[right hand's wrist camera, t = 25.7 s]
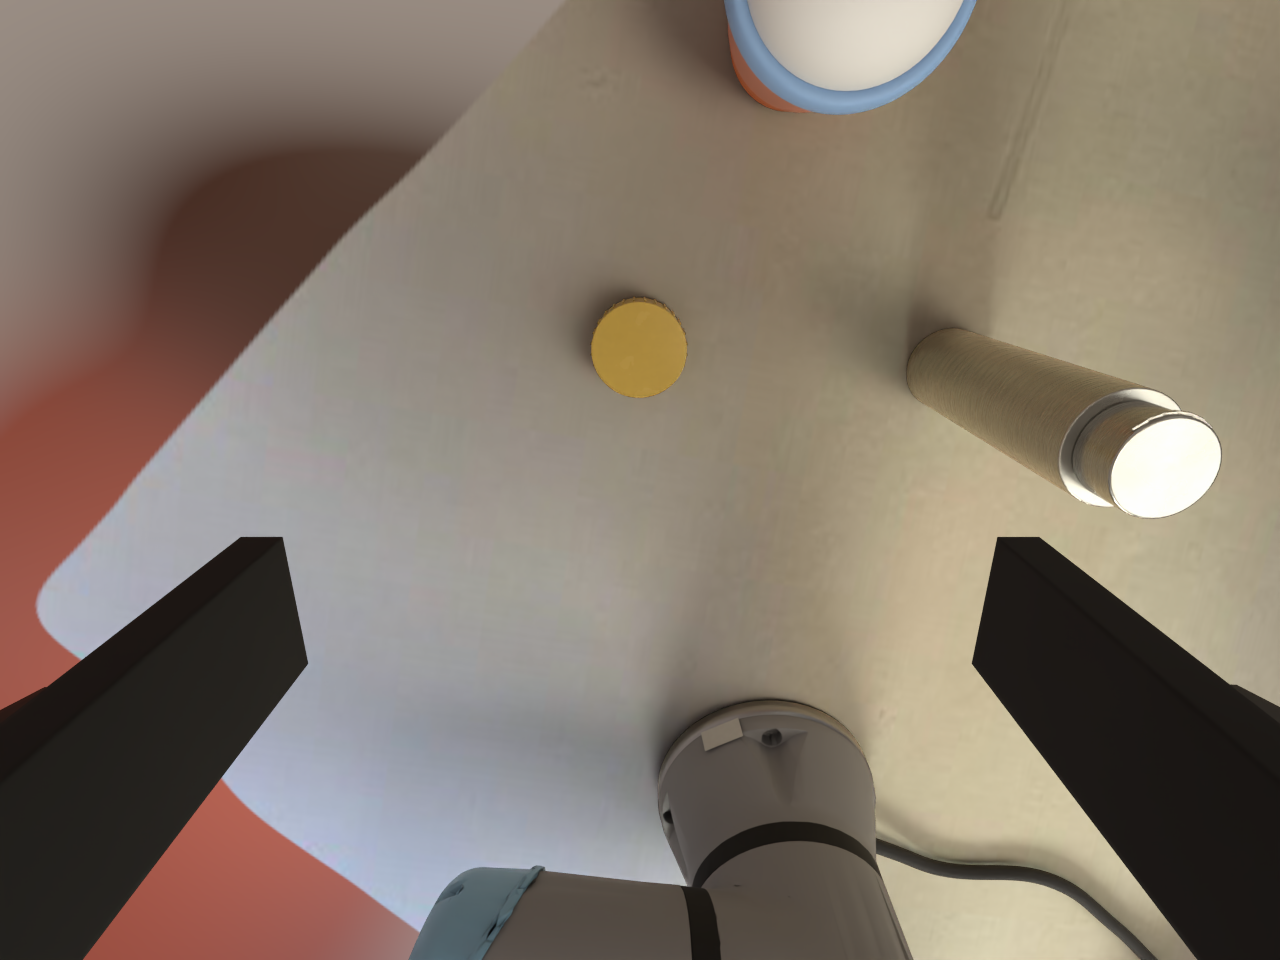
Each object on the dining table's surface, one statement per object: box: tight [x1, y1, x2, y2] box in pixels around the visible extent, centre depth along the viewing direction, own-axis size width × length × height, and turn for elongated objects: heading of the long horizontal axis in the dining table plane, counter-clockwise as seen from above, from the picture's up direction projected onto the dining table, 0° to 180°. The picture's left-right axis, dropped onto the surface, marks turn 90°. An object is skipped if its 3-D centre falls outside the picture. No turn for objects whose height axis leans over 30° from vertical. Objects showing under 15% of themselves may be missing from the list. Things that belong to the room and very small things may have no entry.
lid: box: [591, 297, 688, 398], centre depth 37 cm, size 5×5×2 cm
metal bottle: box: [906, 328, 1222, 519], centre depth 31 cm, size 5×5×17 cm
